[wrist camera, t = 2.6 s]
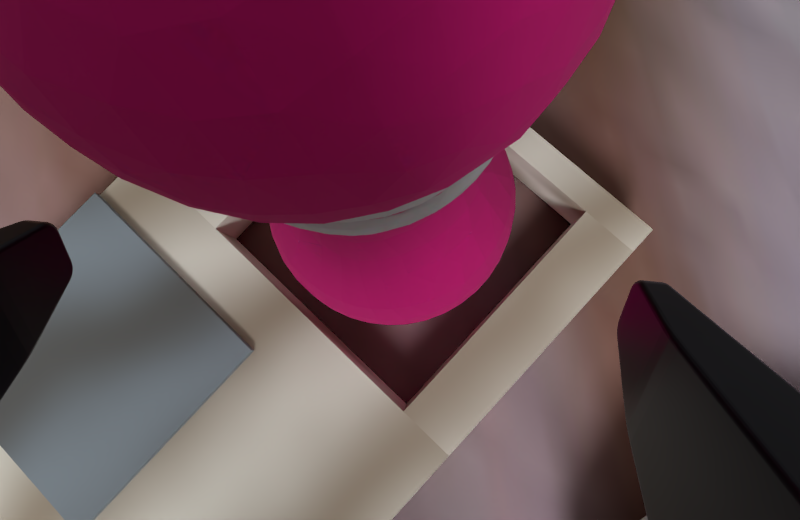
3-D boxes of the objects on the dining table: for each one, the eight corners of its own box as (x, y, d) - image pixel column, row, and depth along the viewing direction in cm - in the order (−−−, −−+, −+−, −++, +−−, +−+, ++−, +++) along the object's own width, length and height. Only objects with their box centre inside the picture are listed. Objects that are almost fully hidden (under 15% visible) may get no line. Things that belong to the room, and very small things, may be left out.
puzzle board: (631, 240, 20) (656, 227, 18) (210, 706, 18) (179, 758, 16) (340, -4, 22) (330, -44, 20) (-56, 397, 21) (-117, 404, 18)
